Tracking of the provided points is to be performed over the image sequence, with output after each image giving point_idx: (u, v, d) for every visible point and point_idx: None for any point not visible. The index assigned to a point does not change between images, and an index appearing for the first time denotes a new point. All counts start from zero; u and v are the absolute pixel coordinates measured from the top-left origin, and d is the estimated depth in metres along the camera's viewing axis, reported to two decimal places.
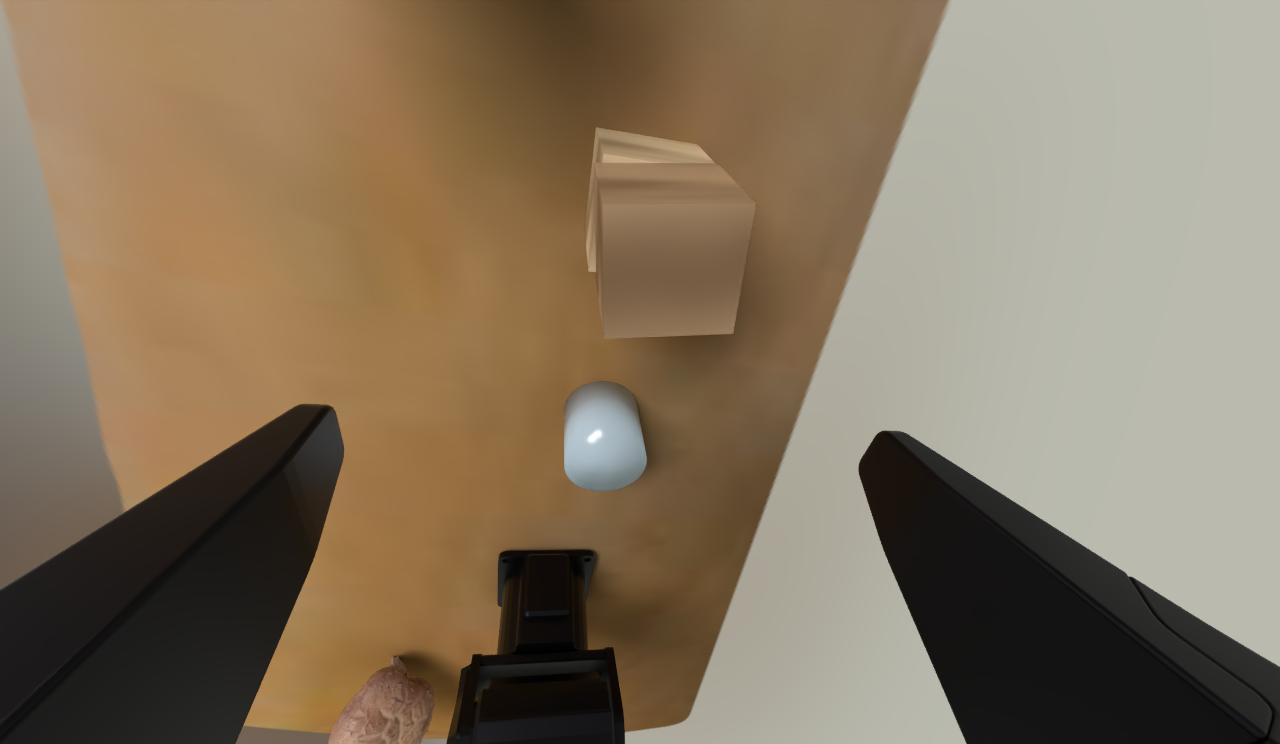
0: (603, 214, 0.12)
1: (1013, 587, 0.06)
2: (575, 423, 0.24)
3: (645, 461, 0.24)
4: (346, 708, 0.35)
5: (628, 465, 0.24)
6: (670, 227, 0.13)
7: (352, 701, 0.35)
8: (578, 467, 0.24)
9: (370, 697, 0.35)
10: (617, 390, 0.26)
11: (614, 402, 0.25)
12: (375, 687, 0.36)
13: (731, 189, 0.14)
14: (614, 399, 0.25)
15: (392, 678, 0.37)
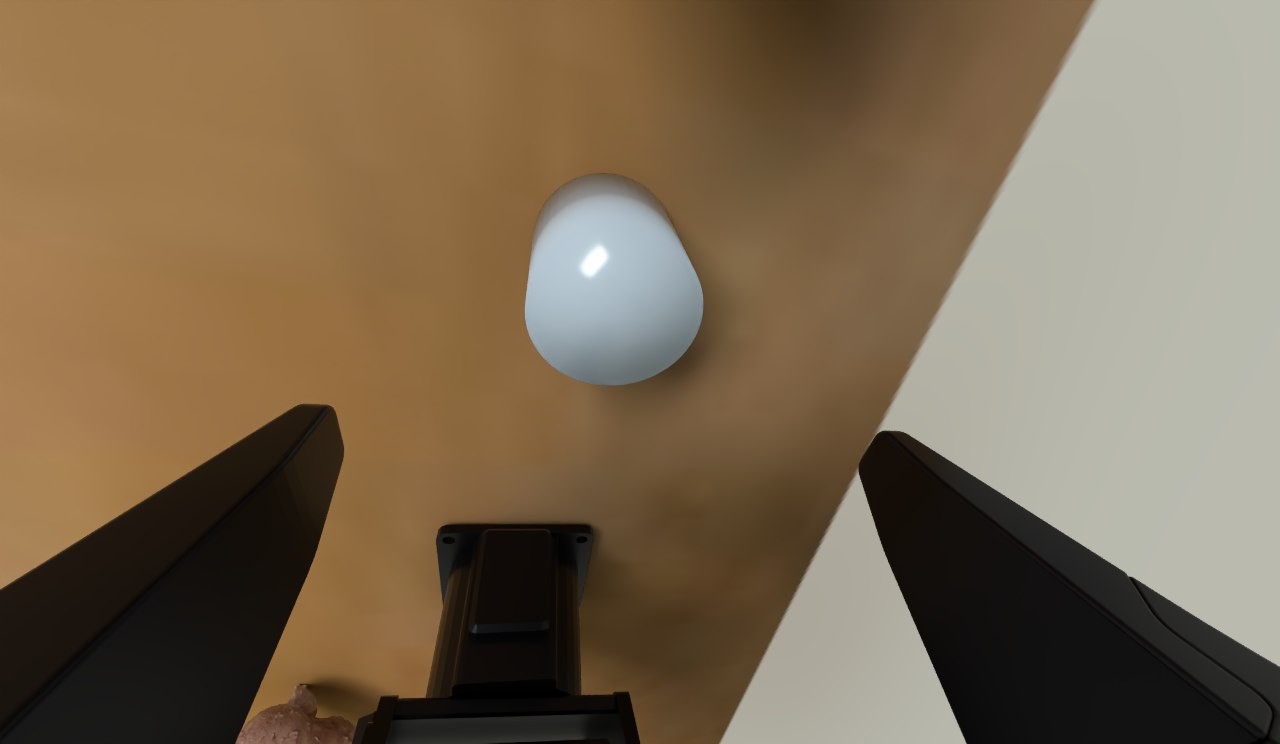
0: None
1: (1013, 587, 0.06)
2: (550, 229, 0.11)
3: (699, 313, 0.11)
4: None
5: (663, 321, 0.11)
6: None
7: None
8: (556, 322, 0.11)
9: None
10: (637, 187, 0.13)
11: (633, 197, 0.12)
12: (251, 739, 0.23)
13: None
14: (632, 194, 0.12)
15: (283, 723, 0.24)
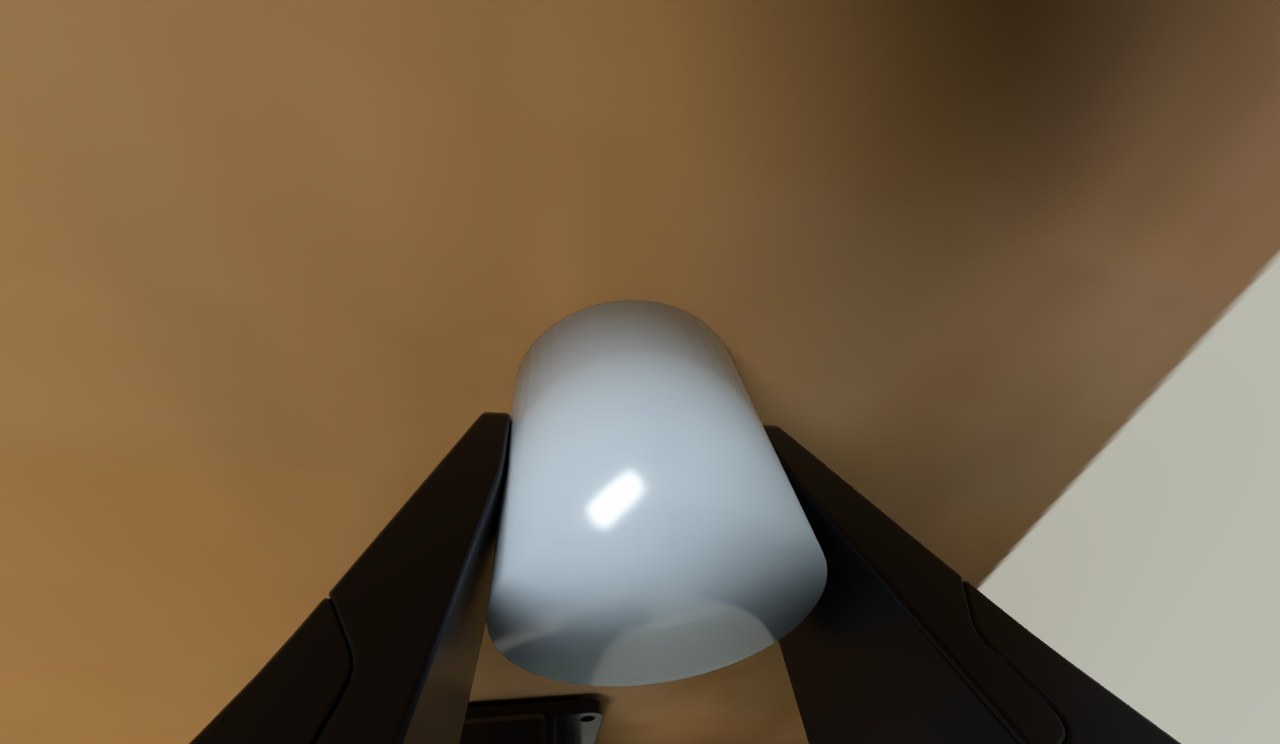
0: None
1: (846, 592, 0.06)
2: (539, 444, 0.06)
3: (816, 595, 0.06)
4: None
5: (748, 611, 0.06)
6: None
7: None
8: (549, 629, 0.06)
9: None
10: (687, 329, 0.08)
11: (687, 366, 0.07)
12: None
13: None
14: (684, 355, 0.07)
15: None
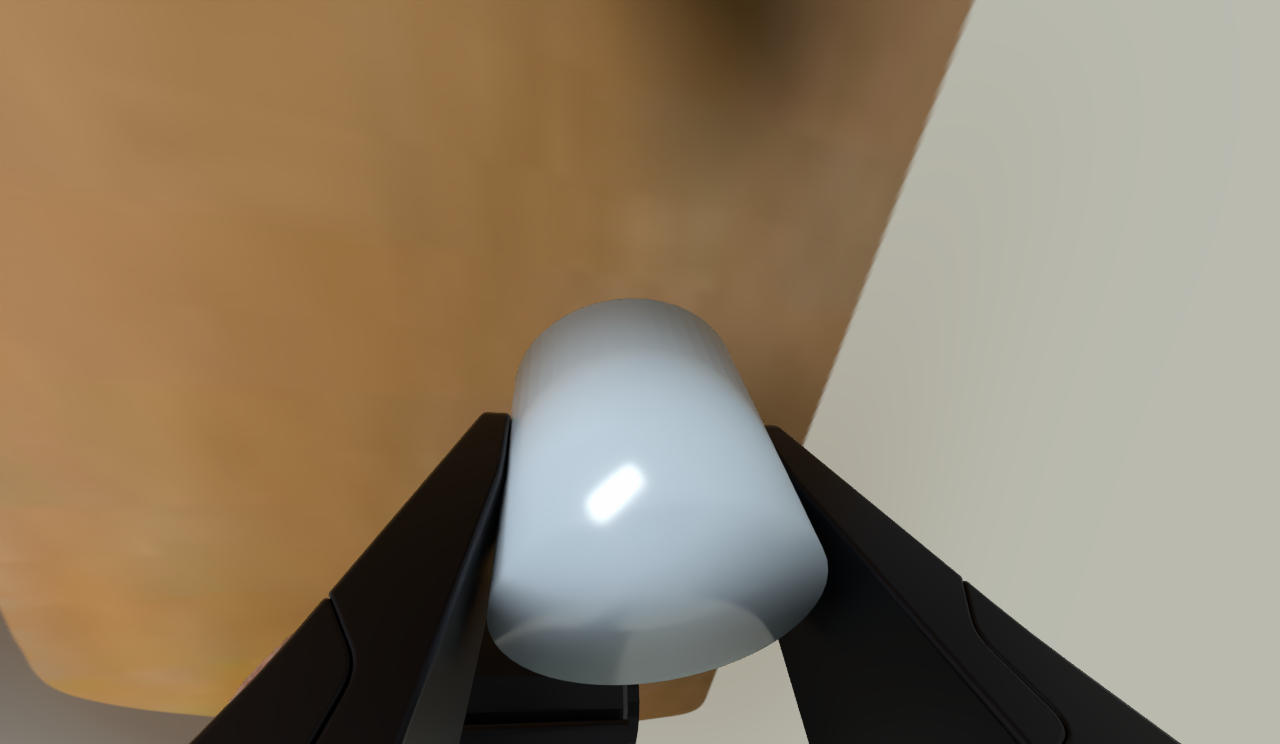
0: None
1: (846, 592, 0.06)
2: (538, 442, 0.06)
3: (816, 593, 0.06)
4: (248, 678, 0.25)
5: (749, 609, 0.06)
6: None
7: (257, 669, 0.26)
8: (549, 627, 0.06)
9: None
10: (688, 327, 0.08)
11: (687, 364, 0.07)
12: None
13: None
14: (684, 353, 0.07)
15: None
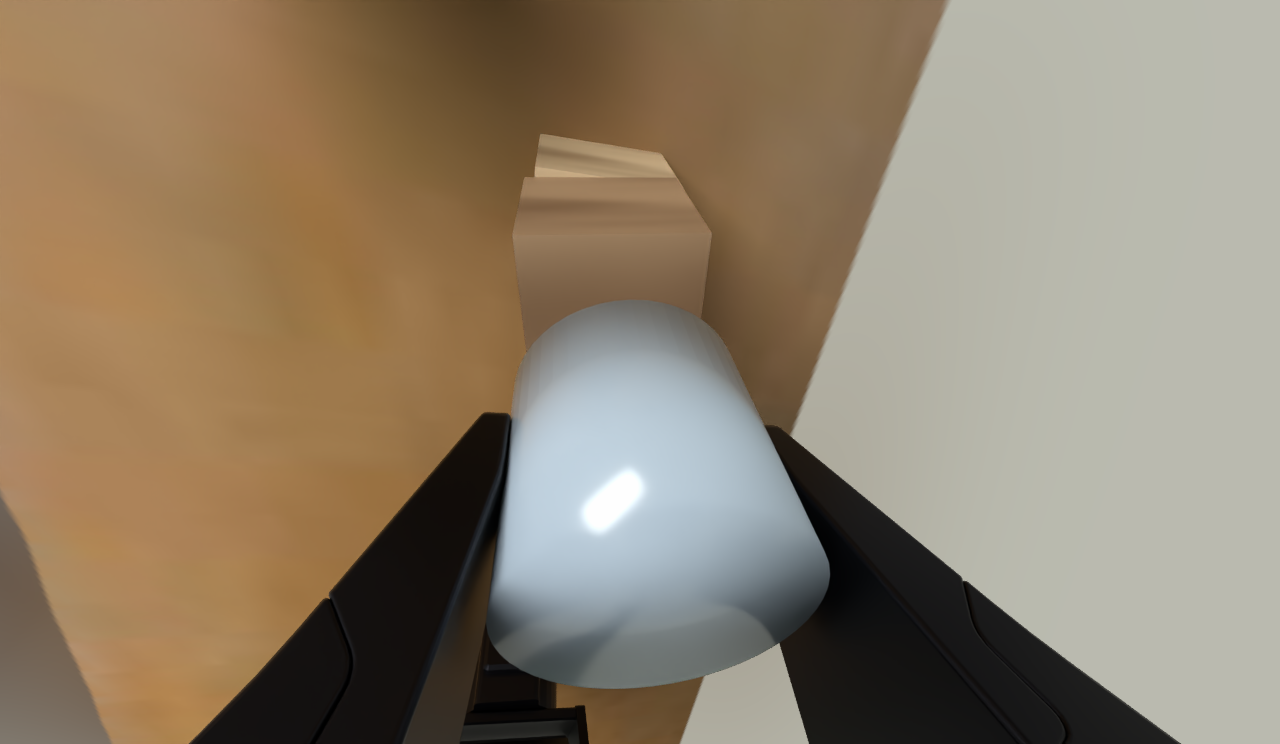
0: (515, 247, 0.10)
1: (846, 592, 0.06)
2: (539, 444, 0.06)
3: (818, 597, 0.06)
4: None
5: (750, 613, 0.06)
6: (603, 263, 0.10)
7: None
8: (549, 631, 0.06)
9: None
10: (688, 328, 0.08)
11: (688, 365, 0.07)
12: None
13: (684, 213, 0.11)
14: (685, 355, 0.07)
15: None
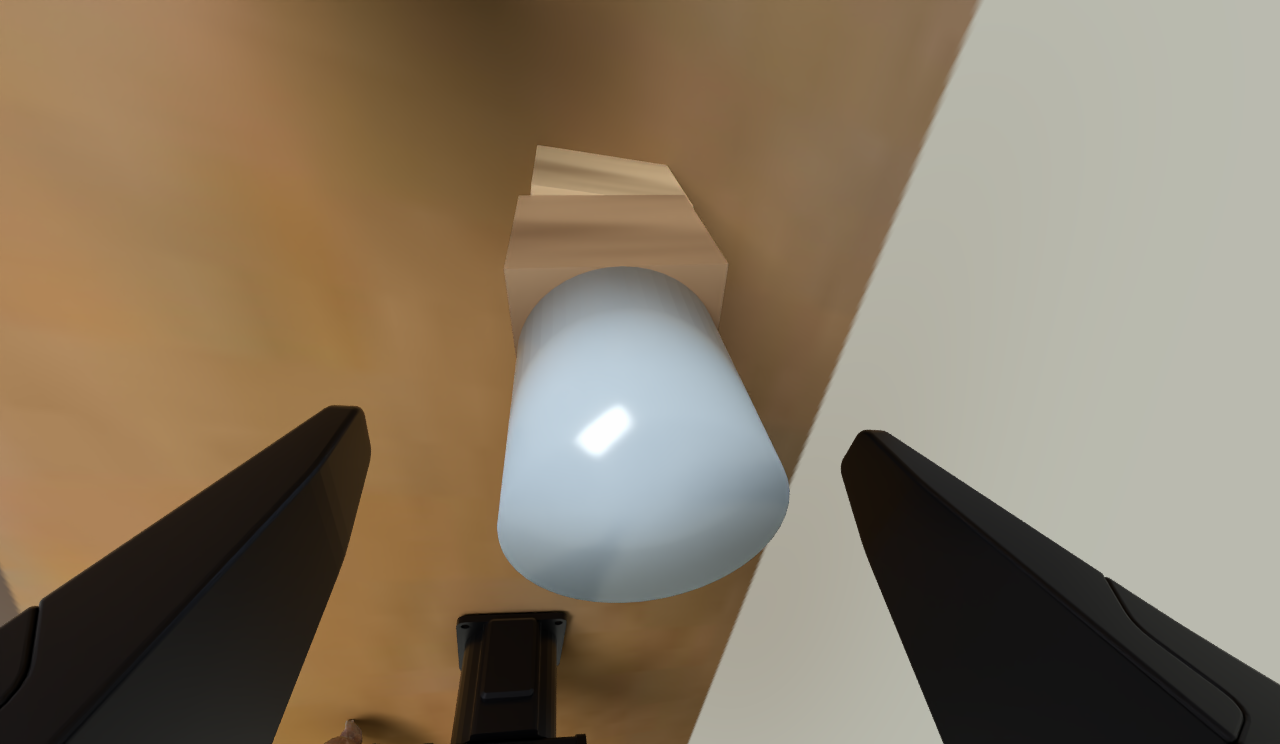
0: (507, 281, 0.09)
1: (989, 588, 0.06)
2: (541, 382, 0.07)
3: (781, 513, 0.07)
4: None
5: (723, 527, 0.07)
6: None
7: None
8: (550, 539, 0.07)
9: None
10: (672, 291, 0.09)
11: (670, 319, 0.08)
12: None
13: (696, 238, 0.10)
14: (669, 310, 0.08)
15: None
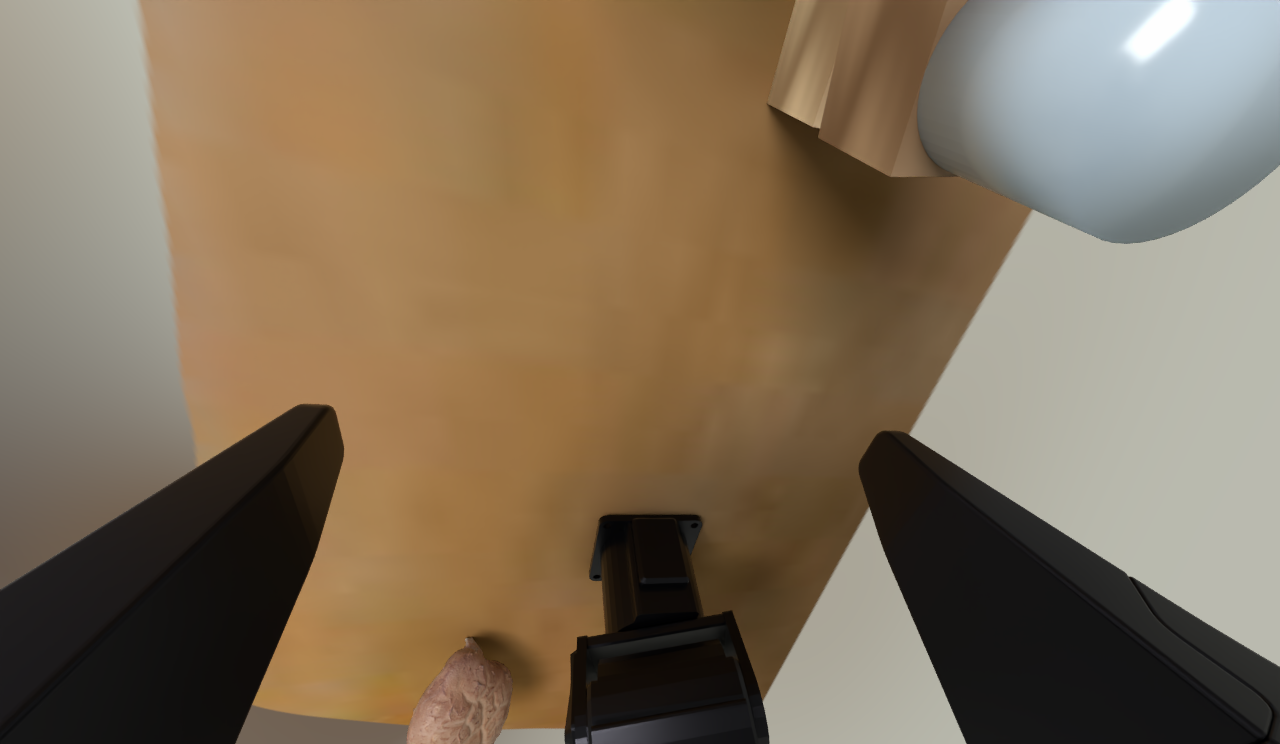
0: None
1: (1013, 587, 0.06)
2: None
3: None
4: (427, 691, 0.31)
5: (1267, 126, 0.07)
6: None
7: (433, 684, 0.32)
8: (1130, 118, 0.07)
9: (452, 679, 0.32)
10: None
11: None
12: (457, 669, 0.32)
13: None
14: None
15: (473, 659, 0.33)
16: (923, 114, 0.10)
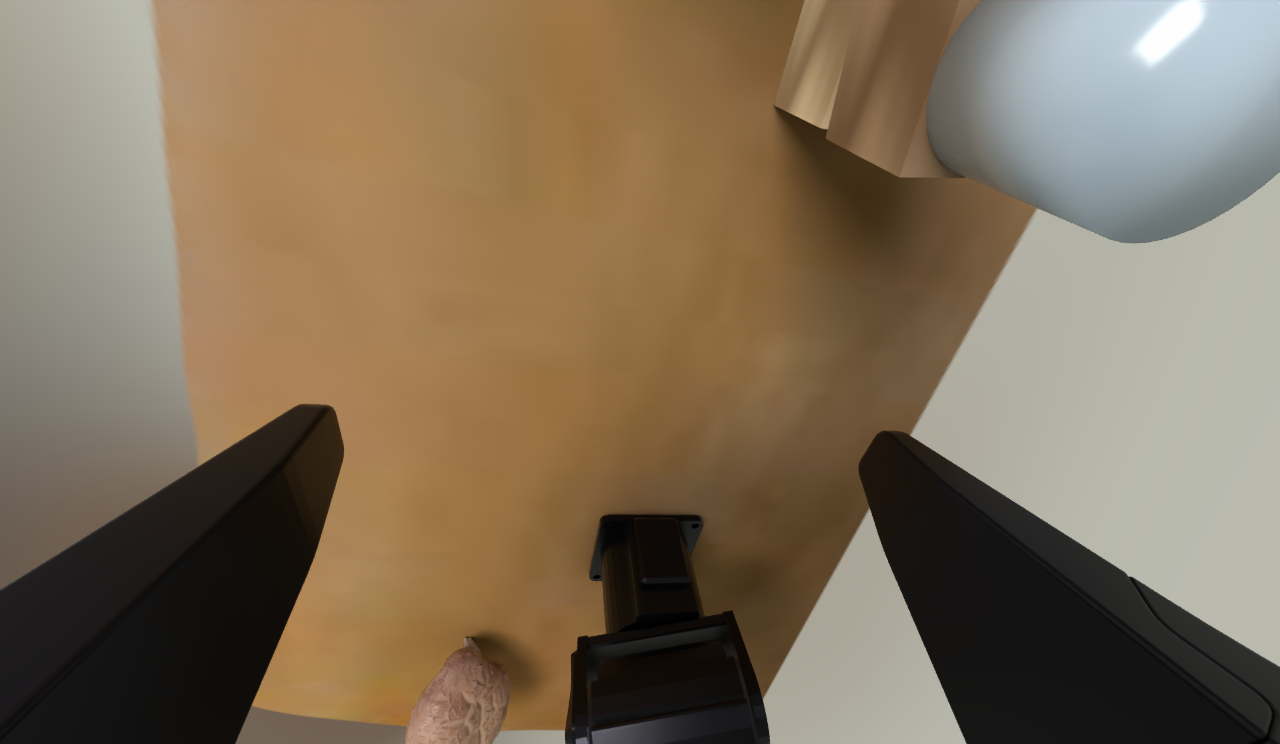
0: None
1: (1013, 587, 0.06)
2: None
3: None
4: (425, 691, 0.31)
5: (1273, 128, 0.07)
6: None
7: (431, 684, 0.32)
8: (1140, 118, 0.07)
9: (451, 679, 0.32)
10: None
11: None
12: (456, 668, 0.32)
13: None
14: None
15: (472, 659, 0.33)
16: (932, 115, 0.10)
